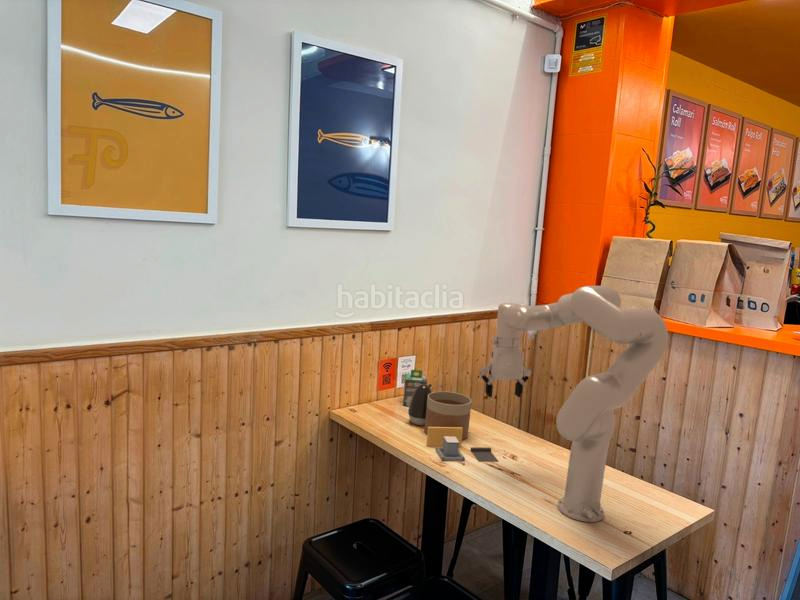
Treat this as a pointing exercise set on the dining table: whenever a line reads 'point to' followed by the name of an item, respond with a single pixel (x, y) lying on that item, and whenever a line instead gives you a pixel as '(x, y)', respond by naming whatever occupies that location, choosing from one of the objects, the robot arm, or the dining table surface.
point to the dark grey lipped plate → (483, 454)
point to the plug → (450, 446)
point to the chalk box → (412, 385)
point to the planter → (448, 411)
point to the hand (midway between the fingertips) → (503, 396)
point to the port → (436, 440)
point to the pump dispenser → (419, 404)
